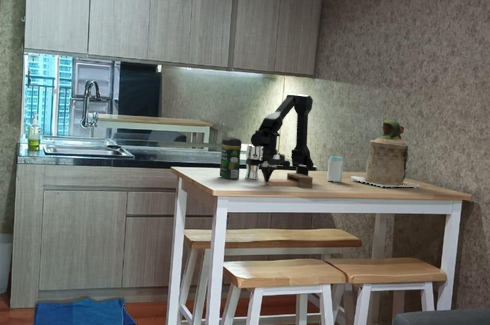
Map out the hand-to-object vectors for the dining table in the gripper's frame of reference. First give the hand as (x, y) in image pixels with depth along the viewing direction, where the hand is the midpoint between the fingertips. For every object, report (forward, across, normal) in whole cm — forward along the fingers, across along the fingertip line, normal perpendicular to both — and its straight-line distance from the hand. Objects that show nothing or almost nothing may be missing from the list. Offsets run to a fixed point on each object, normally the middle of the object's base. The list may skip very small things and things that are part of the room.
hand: (266, 182), depth 290 cm
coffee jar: (+1, -11, +16) cm, 20 cm away
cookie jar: (+1, +67, +10) cm, 68 cm away
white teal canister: (+1, +42, +15) cm, 44 cm away
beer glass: (+1, +1, +18) cm, 18 cm away
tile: (+1, +8, +1) cm, 8 cm away
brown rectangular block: (+1, +16, 0) cm, 16 cm away
